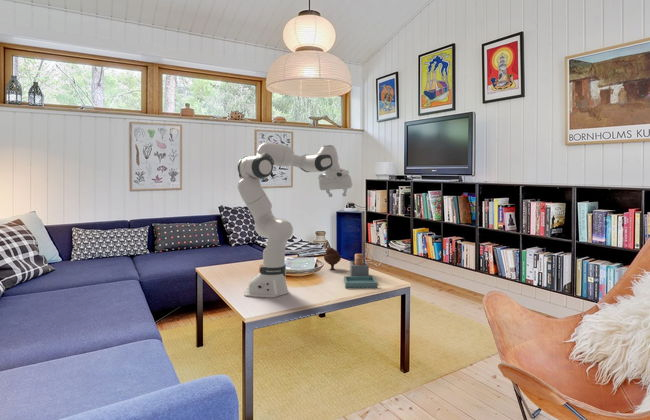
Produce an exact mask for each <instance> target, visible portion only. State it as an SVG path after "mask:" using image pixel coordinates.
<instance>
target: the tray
mask: <svg viewBox="0 0 650 420" xmlns="http://www.w3.org/2000/svg"><path fill="white" fill-rule="evenodd" d="M343 282H344V286H345V289H378V281H377V280H376V278H375V275H369V276H350V275H348V276H347V275H345V276H344V275H343Z"/></svg>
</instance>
